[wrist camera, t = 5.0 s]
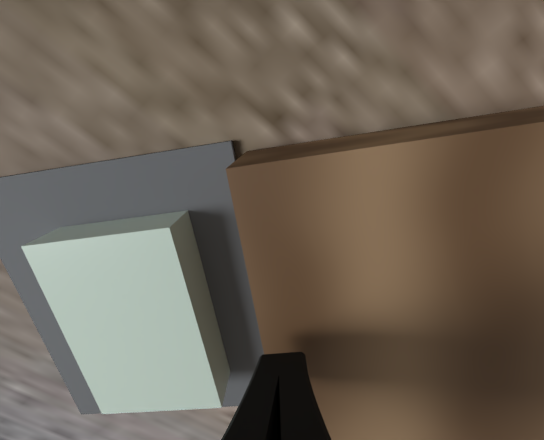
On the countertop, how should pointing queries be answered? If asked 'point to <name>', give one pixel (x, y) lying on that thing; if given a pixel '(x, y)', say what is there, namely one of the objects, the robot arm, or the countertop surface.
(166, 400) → the pale green rectangular block
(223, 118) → the countertop surface
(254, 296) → the tan square board
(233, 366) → the mat
